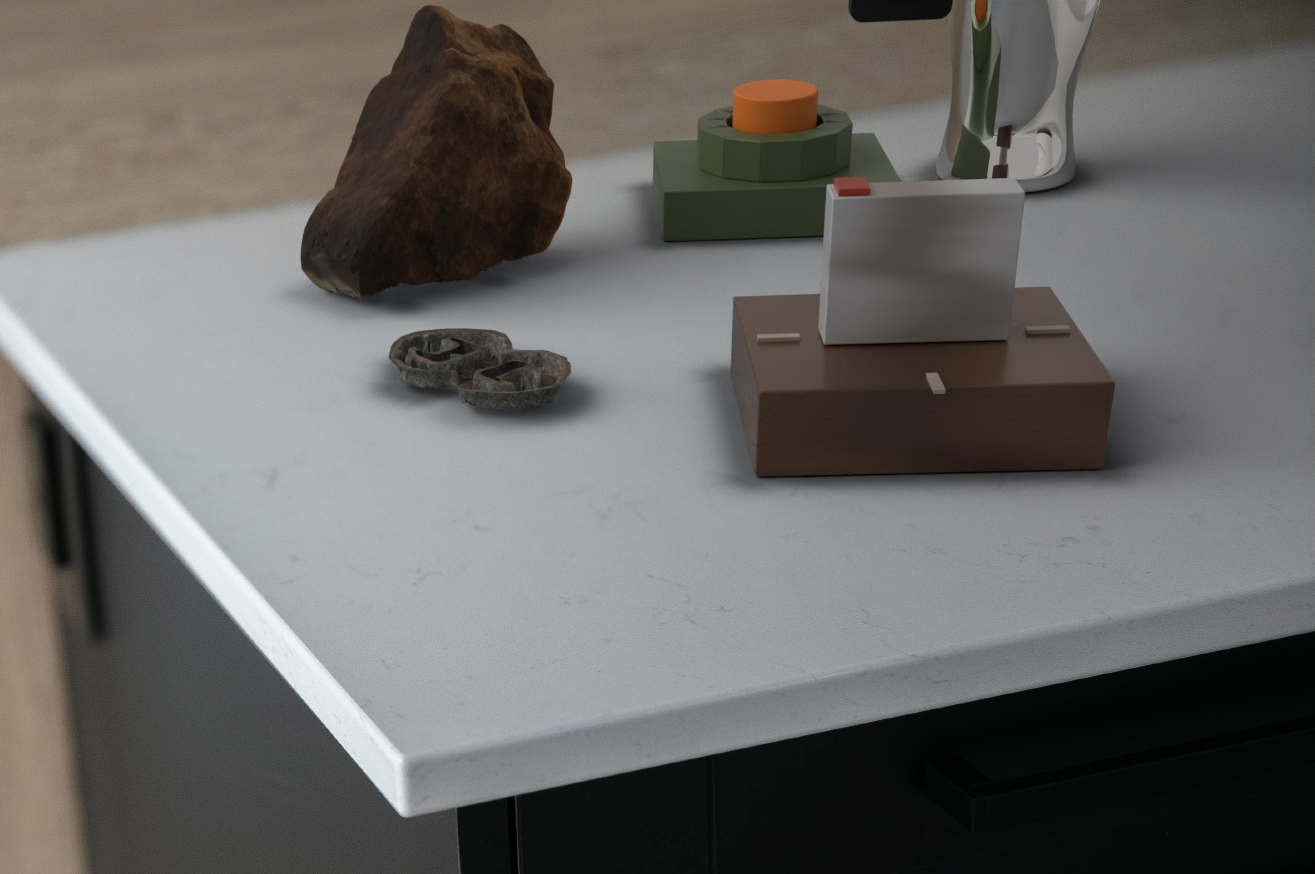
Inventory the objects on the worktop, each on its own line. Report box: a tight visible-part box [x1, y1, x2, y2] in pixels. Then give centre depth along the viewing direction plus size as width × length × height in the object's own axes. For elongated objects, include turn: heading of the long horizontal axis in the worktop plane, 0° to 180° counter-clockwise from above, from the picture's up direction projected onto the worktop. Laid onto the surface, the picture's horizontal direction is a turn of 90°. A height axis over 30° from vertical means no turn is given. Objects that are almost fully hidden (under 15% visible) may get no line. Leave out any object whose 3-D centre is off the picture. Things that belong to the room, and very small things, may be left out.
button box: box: [652, 104, 902, 242], centre depth 88 cm, size 10×8×4 cm
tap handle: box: [818, 177, 1026, 345], centre depth 65 cm, size 6×2×5 cm, turn 85°
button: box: [732, 79, 819, 134], centre depth 87 cm, size 4×4×2 cm
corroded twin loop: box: [388, 327, 572, 410], centre depth 73 cm, size 5×8×1 cm, turn 38°
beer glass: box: [935, 0, 1101, 193], centre depth 87 cm, size 7×7×15 cm
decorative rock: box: [299, 4, 573, 299], centre depth 81 cm, size 12×6×11 cm, turn 120°
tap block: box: [730, 286, 1116, 478], centre depth 67 cm, size 11×10×3 cm
